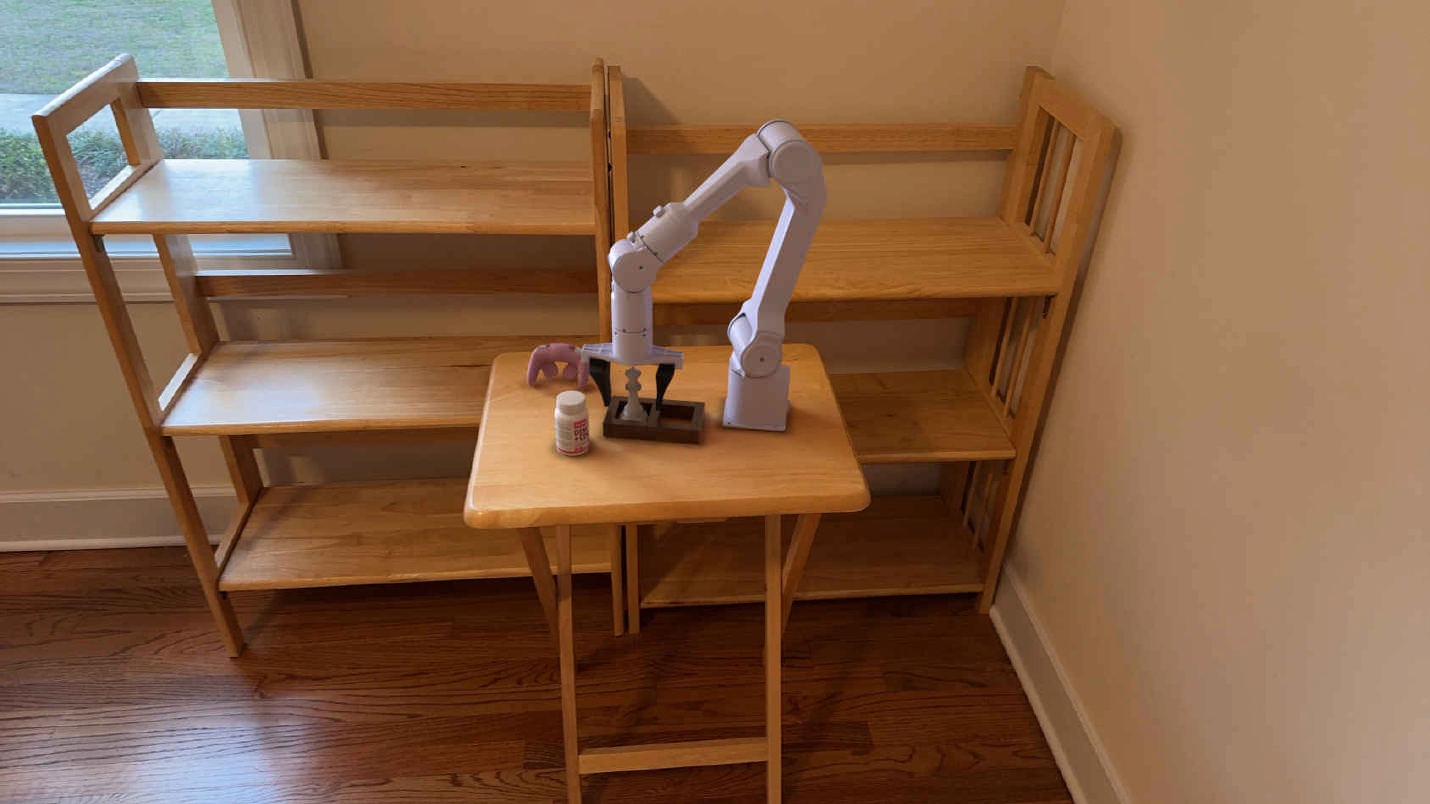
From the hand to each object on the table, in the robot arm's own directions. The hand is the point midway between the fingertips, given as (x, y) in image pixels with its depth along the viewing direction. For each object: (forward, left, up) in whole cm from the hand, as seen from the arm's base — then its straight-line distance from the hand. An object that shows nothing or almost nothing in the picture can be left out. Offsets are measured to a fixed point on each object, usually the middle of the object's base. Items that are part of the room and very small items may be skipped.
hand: (633, 405), depth 142 cm
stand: (-3, 0, -3) cm, 5 cm away
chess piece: (0, 0, -4) cm, 4 cm away
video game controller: (+14, -11, -4) cm, 18 cm away
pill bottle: (+8, +7, -4) cm, 11 cm away
